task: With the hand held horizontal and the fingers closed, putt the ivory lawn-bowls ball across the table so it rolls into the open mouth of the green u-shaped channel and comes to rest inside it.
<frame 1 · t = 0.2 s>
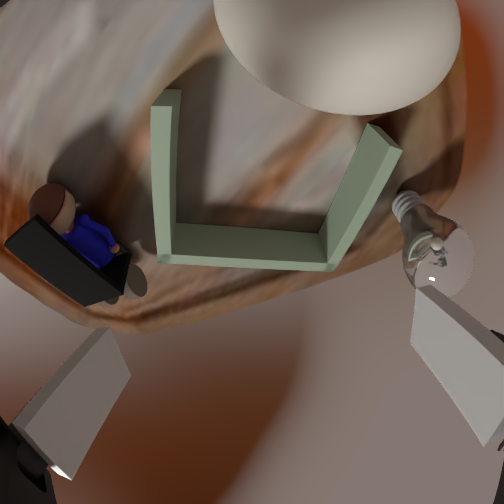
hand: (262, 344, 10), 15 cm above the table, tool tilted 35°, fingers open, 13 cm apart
light bulb: (399, 194, 25), on the table
ball: (339, 7, 8), point 6 cm above the table
green u-shaped channel: (264, 172, 22), on the table
figurine character: (93, 226, 25), on the table
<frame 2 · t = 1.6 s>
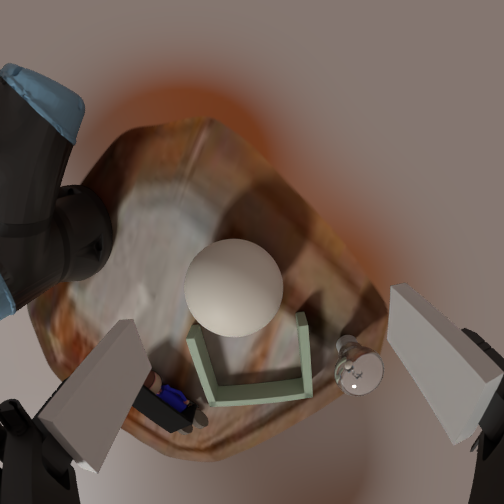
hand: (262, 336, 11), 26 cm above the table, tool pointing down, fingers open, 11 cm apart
light bulb: (343, 338, 40), on the table
ball: (233, 288, 32), point 6 cm above the table
green u-shaped channel: (253, 354, 41), on the table
figurine character: (173, 391, 45), on the table
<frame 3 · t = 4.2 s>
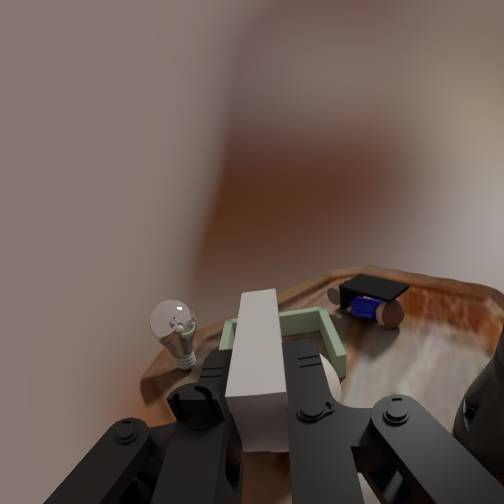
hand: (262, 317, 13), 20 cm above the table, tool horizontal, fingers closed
light bulb: (188, 369, 40), on the table
ball: (282, 397, 24), point 6 cm above the table
green u-shaped channel: (280, 359, 39), on the table
figurine character: (366, 318, 46), on the table
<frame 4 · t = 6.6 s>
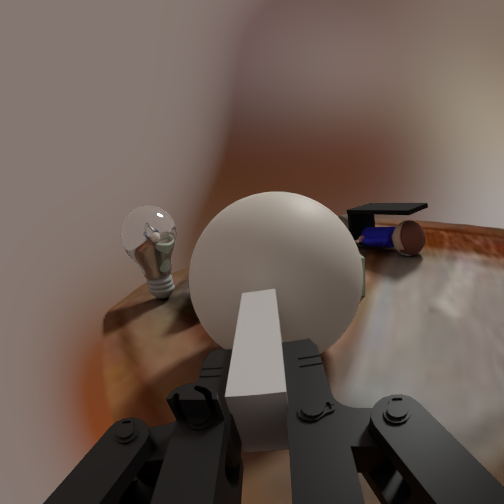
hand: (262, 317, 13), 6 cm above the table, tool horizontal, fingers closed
light bulb: (165, 299, 34), on the table
ball: (276, 279, 18), point 6 cm above the table, tilted 7°
figurine character: (381, 251, 39), on the table
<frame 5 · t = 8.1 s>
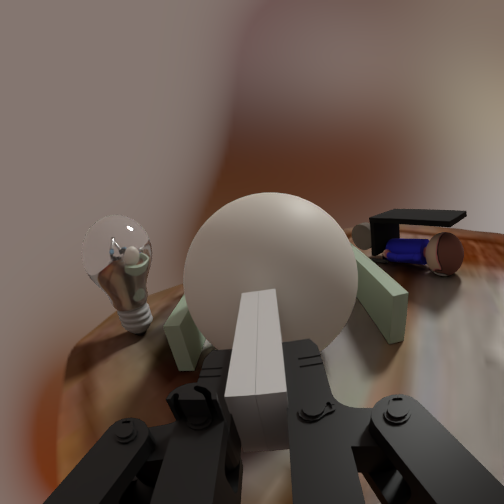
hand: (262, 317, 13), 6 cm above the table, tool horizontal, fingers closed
light bulb: (141, 334, 25), on the table
ball: (270, 280, 18), point 6 cm above the table, tilted 62°, touching gripper
green u-shaped channel: (287, 319, 24), on the table
figurine character: (408, 267, 31), on the table
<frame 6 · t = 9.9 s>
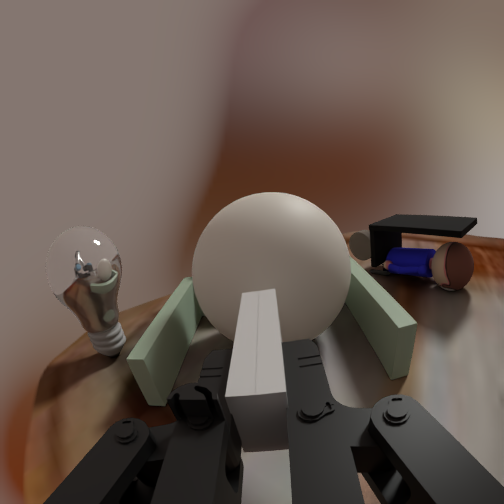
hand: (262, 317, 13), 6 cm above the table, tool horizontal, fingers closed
light bulb: (115, 355, 22), on the table
ball: (271, 271, 20), point 6 cm above the table, tilted 103°
green u-shaped channel: (273, 344, 21), on the table
figurine character: (412, 280, 27), on the table
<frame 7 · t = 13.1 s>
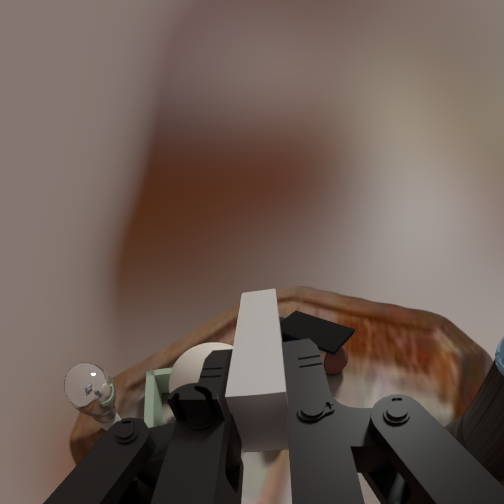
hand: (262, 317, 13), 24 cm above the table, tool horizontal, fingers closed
light bulb: (115, 428, 29), on the table
ball: (215, 387, 31), point 6 cm above the table, tilted 97°
green u-shaped channel: (213, 417, 32), on the table
figurine character: (304, 359, 43), on the table
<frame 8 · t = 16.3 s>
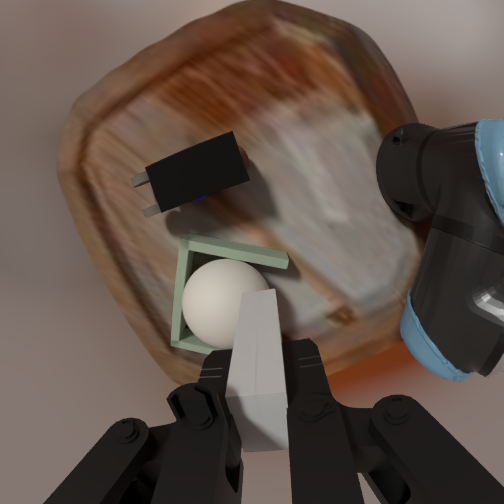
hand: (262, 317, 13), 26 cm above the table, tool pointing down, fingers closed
ball: (226, 303, 35), point 6 cm above the table, tilted 94°
green u-shaped channel: (231, 297, 41), on the table
figurine character: (196, 177, 37), on the table
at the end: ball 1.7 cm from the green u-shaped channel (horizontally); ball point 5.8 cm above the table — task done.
